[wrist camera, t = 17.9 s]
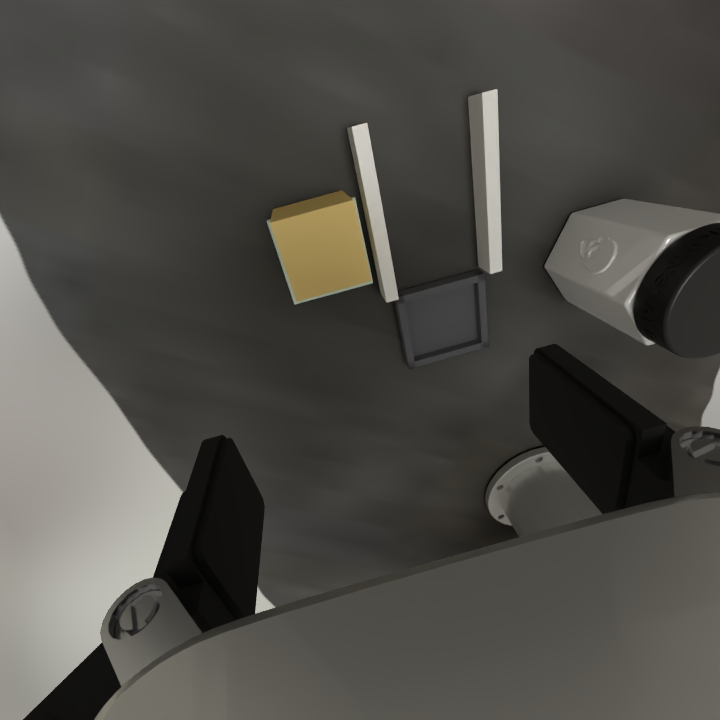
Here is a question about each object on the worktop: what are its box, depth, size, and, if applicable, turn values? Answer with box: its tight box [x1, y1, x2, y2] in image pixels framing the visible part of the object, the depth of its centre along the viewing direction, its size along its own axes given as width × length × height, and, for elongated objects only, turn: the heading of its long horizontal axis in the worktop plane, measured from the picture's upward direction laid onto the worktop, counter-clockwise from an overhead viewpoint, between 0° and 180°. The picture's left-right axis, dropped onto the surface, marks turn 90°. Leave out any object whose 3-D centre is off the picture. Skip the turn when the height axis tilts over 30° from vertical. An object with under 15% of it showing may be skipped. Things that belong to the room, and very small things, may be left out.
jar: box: [544, 199, 720, 358], centre depth 28 cm, size 9×8×12 cm
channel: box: [347, 89, 502, 303], centre depth 28 cm, size 12×10×2 cm
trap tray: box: [394, 269, 489, 369], centre depth 33 cm, size 7×8×1 cm
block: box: [270, 190, 371, 302], centre depth 26 cm, size 5×5×6 cm
